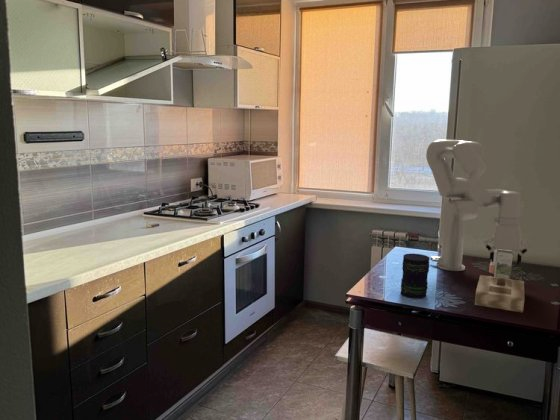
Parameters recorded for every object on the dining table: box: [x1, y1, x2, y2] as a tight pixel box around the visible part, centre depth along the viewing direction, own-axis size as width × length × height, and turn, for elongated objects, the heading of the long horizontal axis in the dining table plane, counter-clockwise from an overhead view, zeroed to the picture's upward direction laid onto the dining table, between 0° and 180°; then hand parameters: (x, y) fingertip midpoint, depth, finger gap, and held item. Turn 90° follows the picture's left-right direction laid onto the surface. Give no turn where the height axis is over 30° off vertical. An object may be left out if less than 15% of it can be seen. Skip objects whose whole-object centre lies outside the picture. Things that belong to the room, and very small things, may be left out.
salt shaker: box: [488, 234, 503, 275], centre depth 226 cm, size 7×7×19 cm
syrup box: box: [493, 249, 514, 279], centre depth 208 cm, size 6×6×14 cm
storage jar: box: [400, 253, 431, 300], centre depth 192 cm, size 10×10×15 cm
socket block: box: [474, 274, 525, 314], centre depth 191 cm, size 16×24×5 cm, turn 155°
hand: (505, 262), depth 207 cm, fingers open, 9 cm apart
